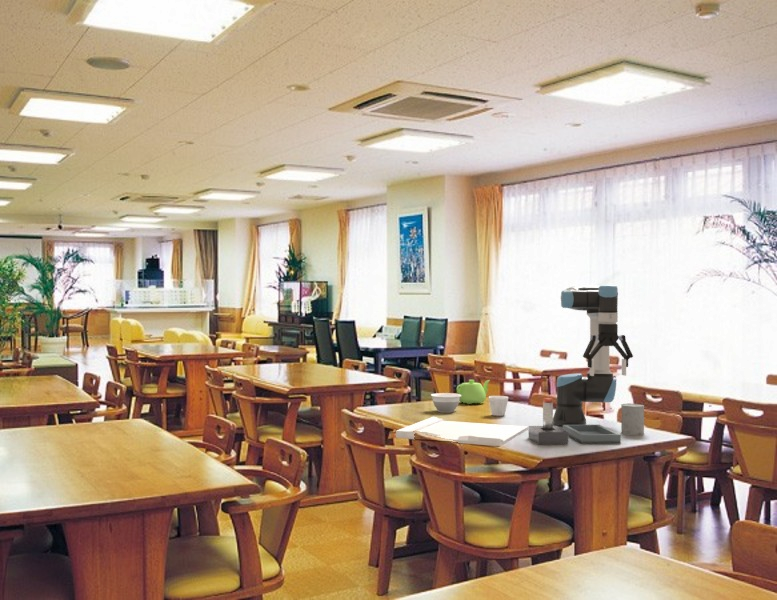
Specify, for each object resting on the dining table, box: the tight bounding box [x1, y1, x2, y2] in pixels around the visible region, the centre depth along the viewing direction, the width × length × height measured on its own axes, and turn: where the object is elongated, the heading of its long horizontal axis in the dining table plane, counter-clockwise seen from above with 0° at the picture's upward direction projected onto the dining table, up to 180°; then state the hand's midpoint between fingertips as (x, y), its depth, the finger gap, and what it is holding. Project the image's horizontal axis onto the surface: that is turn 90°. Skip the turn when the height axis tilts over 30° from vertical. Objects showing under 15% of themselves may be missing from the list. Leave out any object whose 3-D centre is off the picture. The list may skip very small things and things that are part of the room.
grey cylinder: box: [620, 403, 645, 436], centre depth 346 cm, size 10×10×12 cm
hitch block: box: [528, 425, 569, 446], centre depth 326 cm, size 16×12×5 cm
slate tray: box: [562, 424, 622, 445], centre depth 334 cm, size 26×16×4 cm, turn 4°
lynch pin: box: [542, 397, 554, 430], centre depth 326 cm, size 4×4×17 cm
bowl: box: [430, 392, 461, 414], centre depth 412 cm, size 16×16×9 cm
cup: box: [488, 395, 509, 417], centre depth 398 cm, size 10×10×9 cm
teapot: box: [456, 379, 491, 405], centre depth 444 cm, size 22×15×13 cm
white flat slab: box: [395, 416, 529, 447], centre depth 345 cm, size 45×45×4 cm
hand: (607, 375), depth 324 cm, fingers open, 13 cm apart
